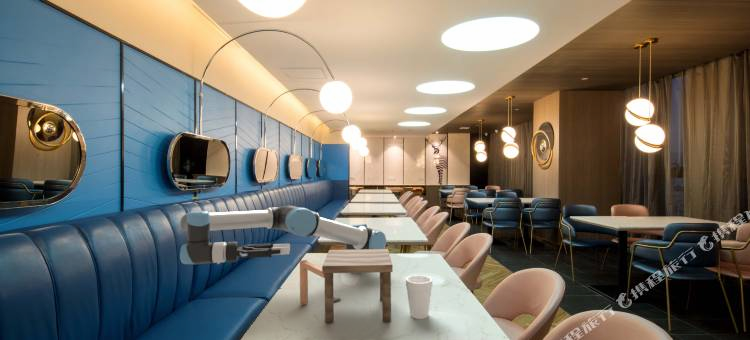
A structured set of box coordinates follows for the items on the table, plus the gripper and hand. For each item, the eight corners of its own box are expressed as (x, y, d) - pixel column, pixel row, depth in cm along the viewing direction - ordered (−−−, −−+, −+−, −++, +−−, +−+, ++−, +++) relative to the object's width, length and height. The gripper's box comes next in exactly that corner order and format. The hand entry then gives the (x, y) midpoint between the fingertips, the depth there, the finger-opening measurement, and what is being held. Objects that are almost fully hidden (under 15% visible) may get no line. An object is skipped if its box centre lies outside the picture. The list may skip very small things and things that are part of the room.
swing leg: (330, 317, 127) (329, 270, 127) (322, 319, 125) (322, 272, 125) (305, 300, 142) (305, 259, 142) (298, 302, 141) (298, 261, 141)
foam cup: (417, 307, 136) (417, 273, 136) (437, 315, 129) (437, 279, 129) (400, 315, 129) (400, 279, 129) (421, 323, 123) (420, 285, 123)
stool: (328, 298, 147) (328, 249, 147) (388, 297, 148) (387, 248, 147) (321, 324, 122) (320, 266, 122) (392, 322, 123) (392, 264, 123)
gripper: (231, 256, 144) (290, 252, 149) (221, 268, 126) (289, 264, 131) (231, 237, 144) (290, 234, 149) (221, 247, 126) (288, 244, 131)
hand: (289, 248), depth 140 cm, fingers open, 5 cm apart
